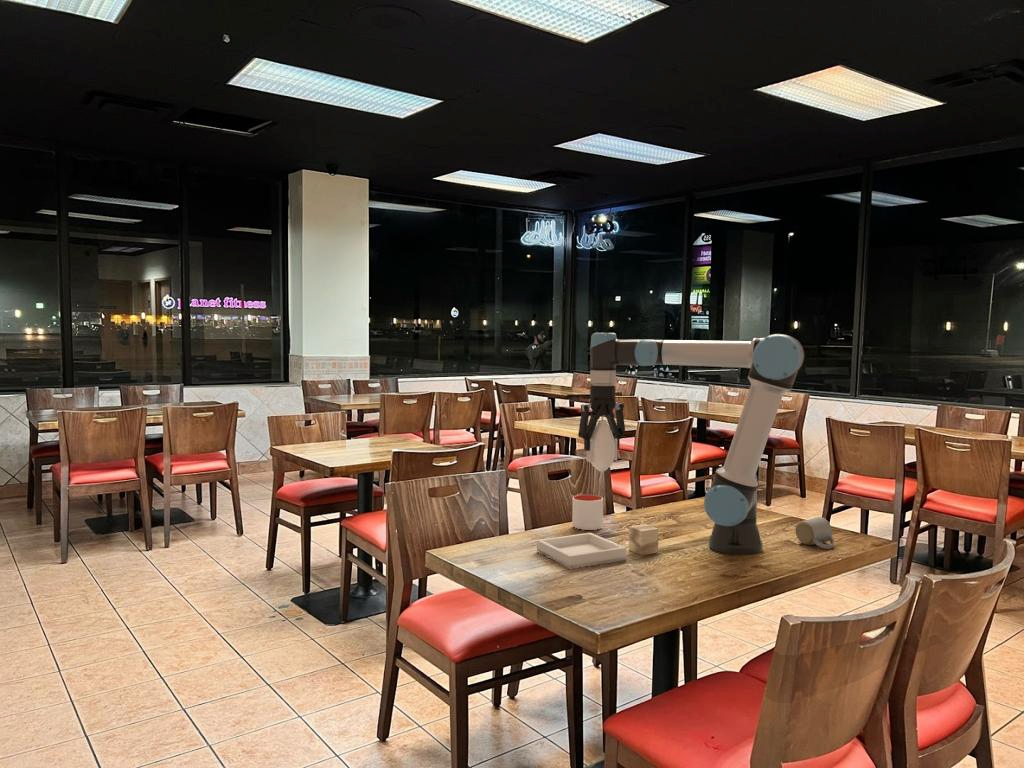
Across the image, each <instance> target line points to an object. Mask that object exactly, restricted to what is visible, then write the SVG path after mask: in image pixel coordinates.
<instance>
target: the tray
mask: <svg viewBox="0 0 1024 768" xmlns="http://www.w3.org/2000/svg"><path fill="white" fill-rule="evenodd" d="M537 551H539V552H540V553H542V554H544V555H546V556H548V557H550V558H551V559H553V560H555V561H556V562H555V561H554V562H555V563H557V562H558V563H557V564H559V563H560V564H559V565H561V564H562V565H561V566H563V565H564V566H563V567H564V568H566V567H567V568H566V569H568V568H569V569H568V570H574V569H573V568H575V569H580V568H579V567H581V568H586V567H585V566H588V567H592V566H591V565H594V566H598V564H600V565H604V564H605V563H606V564H610V563H611V564H612V563H617V562H623V561H627V547H625V546H623V545H621V544H619V543H615V542H614V541H610V540H609V539H607V538H605V537H602V536H600V535H598V534H595V533H592V532H586V533H585V532H584V533H578V534H573V535H572V534H571V535H564V536H558V537H557V536H555V537H549V538H541V539H537V540H536V552H537ZM540 553H539V554H540ZM542 554H541V555H542ZM544 555H543V556H544ZM546 556H545V557H546ZM551 559H550V560H551ZM553 560H552V561H553Z"/></svg>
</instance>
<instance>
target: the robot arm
mask: <svg viewBox="0 0 1024 768" xmlns="http://www.w3.org/2000/svg"><path fill="white" fill-rule="evenodd" d="M590 337H591V338H590V347H589V349H590V372H589V373H590V376H589V377H590V380H589V381H590V384H592V385H590V386H589V398H590V400H589V403H586V404H584V403H582V404H581V405H580V410H581V414H580V421H579V426H578V435H577V436H578V438H581V439H583V449H584V451H585V453H586V454H585V455H586V456H585V461H586V462H588V463H591V462H593V440H591V437H592V434H593V432H594V429H595V426H596V425H597V424H598V420H600V417H602V416H603V417H605V418H606V421H607V424H608V426H609V427H610V429H611V431H612V434H613V437H614V442H615V457H614V461H618V450H619V449H620V440H621V439H622V438H623V437H625V436H626V425H625V418H624V417H625V416H624V407H625V404H624V403H620V402H616V401H615V400H616V399H615V398H616V385H614V384H616V383H617V380H616V379H617V376H616V375H617V374H616V373H617V371H616V369H617V366H639V367H640V366H641V367H647V366H654V365H659V366H660V365H663V366H664V365H665V366H666V365H667V366H669V365H670V366H671V365H672V366H692V367H693V366H694V367H696V366H697V367H703V366H704V367H719V368H720V367H723V368H725V367H727V368H747V369H749V371H748V375H747V378H748V380H749V382H750V387H749V390H748V392H747V396H746V399H745V402H744V405H743V407H742V411H741V413H740V416H739V419H738V423H737V426H736V429H735V431H734V435H733V438H732V440H731V442H730V443H731V444H730V446H729V450H728V451H727V456H726V458H725V461H724V464H723V466H722V467H718V468H716V470H715V472H714V473H715V474H714V476H713V478H712V482H711V485H710V487H709V489H708V490H707V492H706V493H705V496H704V501H703V507H704V511H705V513H706V515H707V517H708V518H709V519H710V520H711V521H712V522H714V524H713V527H712V529H711V530H712V531H711V535H710V536H709V538H708V547H709V548H710V549H711V550H714V551H716V552H718V553H723V554H728V555H737V556H738V555H739V556H747V555H756V554H759V553H761V552H763V540H762V539H761V535H760V531H759V528H758V523H757V518H758V517H757V512H758V511H757V509H758V506H757V505H758V486H759V482H758V475H757V472H758V468H759V465H760V462H761V461H762V457H763V454H764V451H765V448H766V445H767V442H768V440H769V436H770V433H771V430H772V428H773V424H774V422H775V419H776V416H777V413H778V411H779V408H780V404H781V402H782V399H783V397H784V394H786V393H789V392H791V391H792V388H793V386H794V382H795V381H796V377H797V374H798V371H799V370H800V369H801V367H802V365H803V363H804V360H805V351H804V347H803V346H802V344H801V342H800V341H799V340H798V339H796V338H795V337H793V336H791V335H788V334H783V333H782V334H781V333H773V334H769V335H767V336H765V337H754V338H753V339H752V340H749V341H748V340H747V341H745V340H744V341H742V340H694V339H693V340H690V339H689V340H687V339H685V340H683V339H677V340H676V339H649V338H648V339H645V338H644V339H643V338H642V339H619V338H617V334H616V333H615V332H594V333H592V334H591V336H590ZM614 410H615V411H614ZM590 411H591V413H590ZM614 412H615V414H614Z"/></svg>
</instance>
